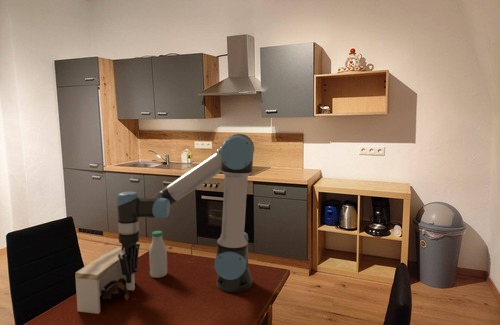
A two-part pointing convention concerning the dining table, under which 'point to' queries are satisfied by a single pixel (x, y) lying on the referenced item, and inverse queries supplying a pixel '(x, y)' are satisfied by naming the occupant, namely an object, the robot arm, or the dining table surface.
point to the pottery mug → (115, 289)
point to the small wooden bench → (97, 280)
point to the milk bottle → (158, 256)
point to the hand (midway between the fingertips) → (130, 289)
